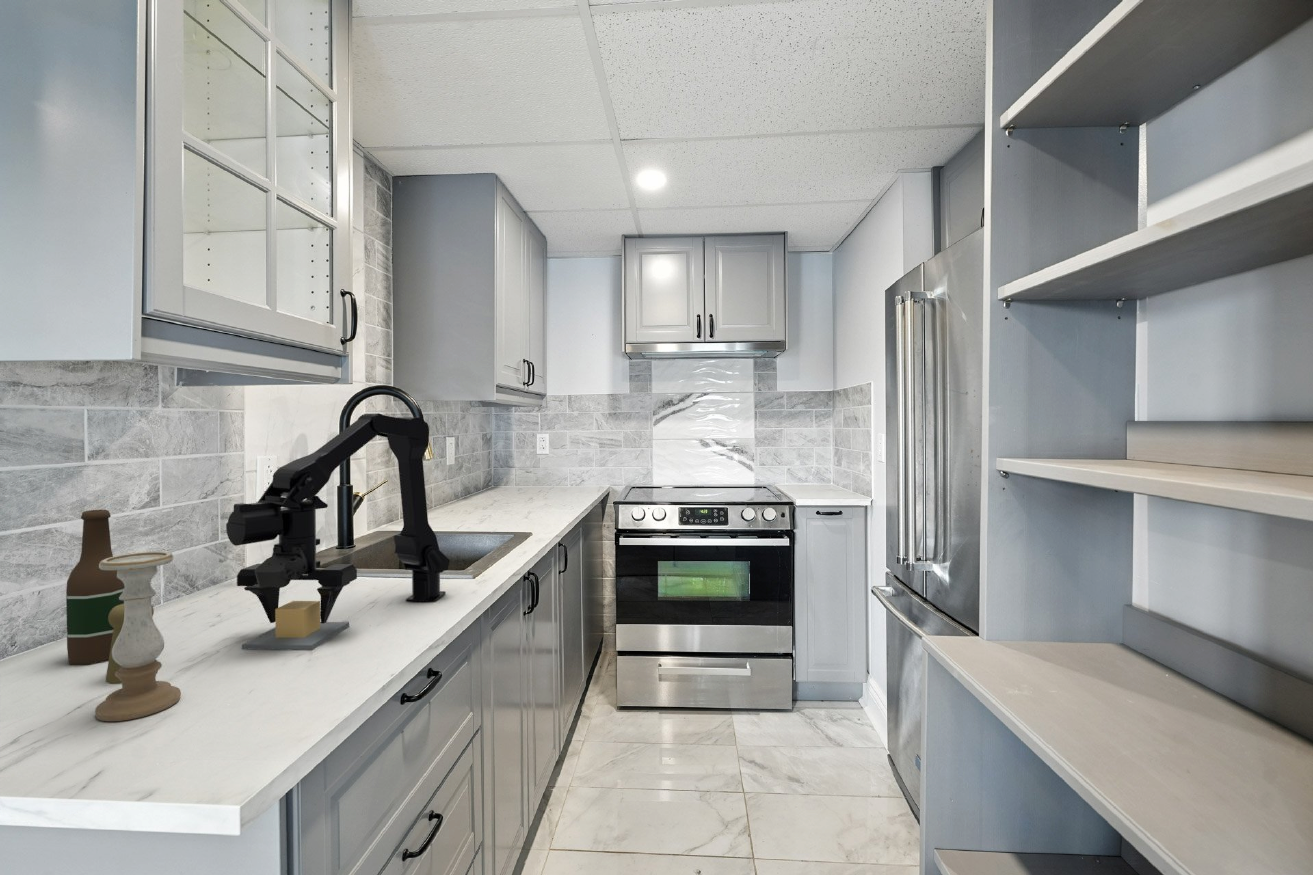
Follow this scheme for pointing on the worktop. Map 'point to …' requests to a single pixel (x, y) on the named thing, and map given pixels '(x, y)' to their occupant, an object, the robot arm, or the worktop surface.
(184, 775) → the worktop surface
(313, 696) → the worktop surface
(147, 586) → the candle holder
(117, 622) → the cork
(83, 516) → the beer bottle
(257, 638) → the grey mat
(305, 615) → the ochre cube
